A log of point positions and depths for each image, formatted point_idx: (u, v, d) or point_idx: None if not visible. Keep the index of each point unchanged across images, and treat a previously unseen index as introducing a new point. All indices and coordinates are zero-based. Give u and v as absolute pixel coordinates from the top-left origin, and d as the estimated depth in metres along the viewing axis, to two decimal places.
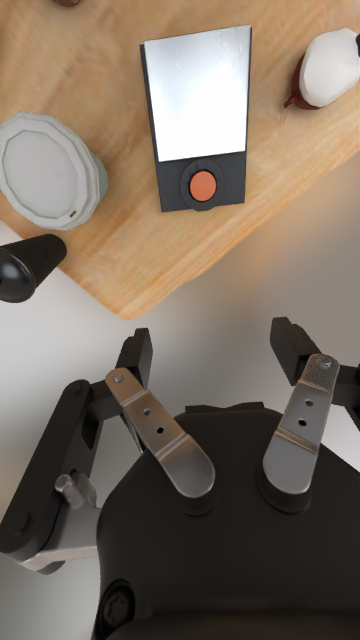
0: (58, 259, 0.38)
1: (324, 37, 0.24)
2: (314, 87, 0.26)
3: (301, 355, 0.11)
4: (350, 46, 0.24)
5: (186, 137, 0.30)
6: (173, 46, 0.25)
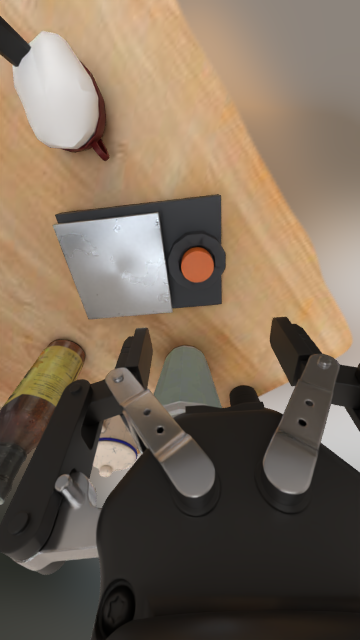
0: None
1: (32, 125, 0.18)
2: (78, 124, 0.17)
3: (301, 355, 0.11)
4: (25, 75, 0.16)
5: (150, 285, 0.27)
6: (86, 297, 0.28)
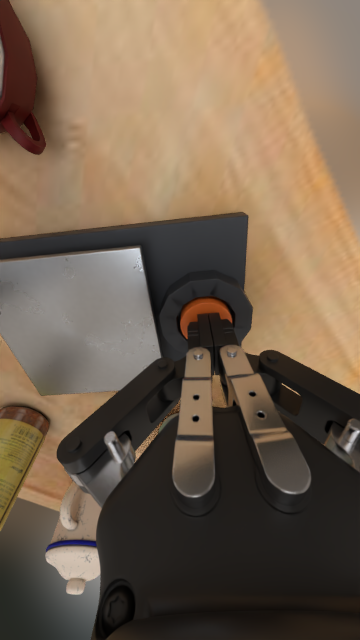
0: None
1: None
2: None
3: (217, 346, 0.12)
4: None
5: (131, 354, 0.17)
6: (32, 368, 0.18)
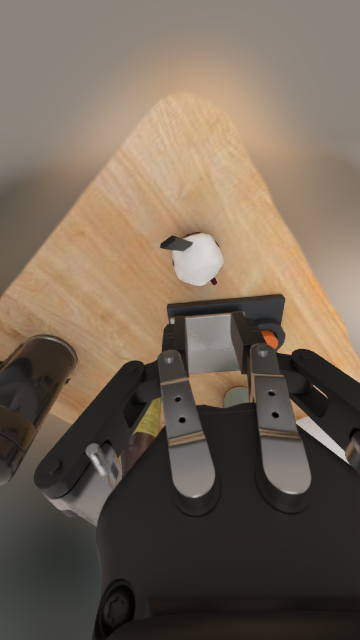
0: None
1: (179, 274, 0.29)
2: (211, 277, 0.28)
3: (245, 345, 0.12)
4: (187, 256, 0.27)
5: (229, 354, 0.38)
6: None
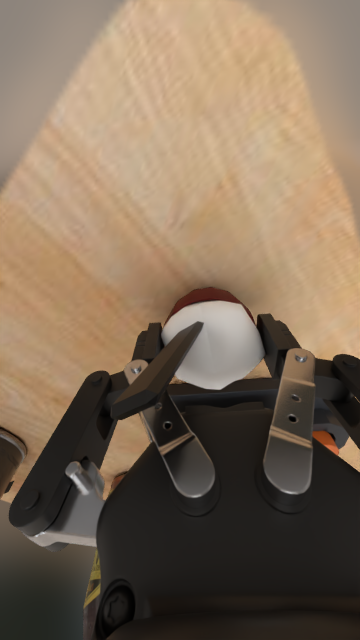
0: None
1: (176, 372, 0.15)
2: (238, 379, 0.14)
3: (280, 349, 0.11)
4: (191, 349, 0.13)
5: None
6: None
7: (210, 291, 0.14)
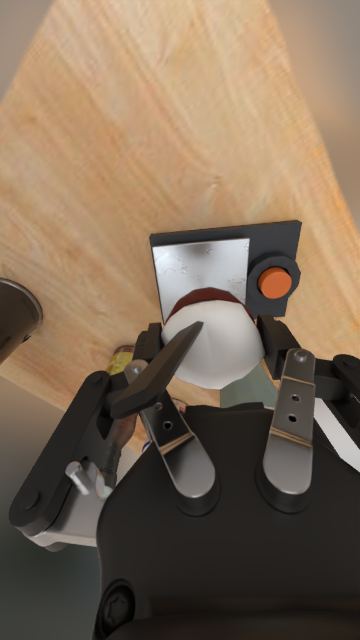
0: None
1: (176, 371, 0.15)
2: None
3: (280, 349, 0.11)
4: (191, 348, 0.13)
5: None
6: (167, 309, 0.31)
7: (210, 291, 0.14)
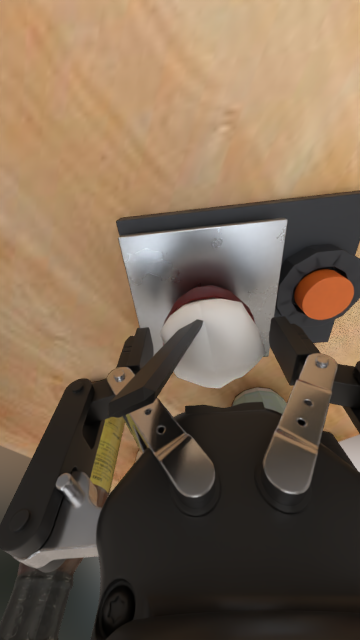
0: None
1: (176, 370, 0.15)
2: None
3: (299, 354, 0.11)
4: (191, 347, 0.13)
5: None
6: None
7: (210, 289, 0.14)
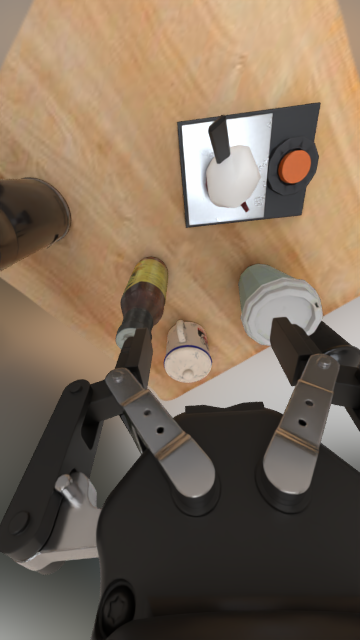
0: None
1: (213, 194, 0.28)
2: (246, 195, 0.27)
3: (301, 355, 0.11)
4: (224, 169, 0.26)
5: None
6: (192, 200, 0.32)
7: None
